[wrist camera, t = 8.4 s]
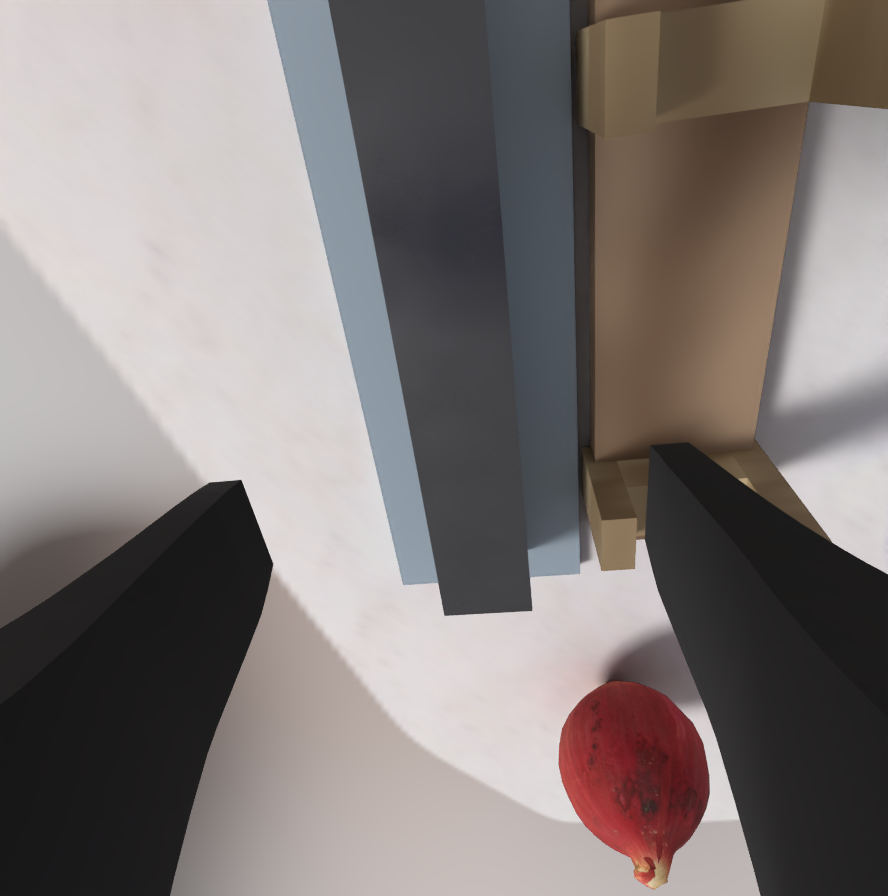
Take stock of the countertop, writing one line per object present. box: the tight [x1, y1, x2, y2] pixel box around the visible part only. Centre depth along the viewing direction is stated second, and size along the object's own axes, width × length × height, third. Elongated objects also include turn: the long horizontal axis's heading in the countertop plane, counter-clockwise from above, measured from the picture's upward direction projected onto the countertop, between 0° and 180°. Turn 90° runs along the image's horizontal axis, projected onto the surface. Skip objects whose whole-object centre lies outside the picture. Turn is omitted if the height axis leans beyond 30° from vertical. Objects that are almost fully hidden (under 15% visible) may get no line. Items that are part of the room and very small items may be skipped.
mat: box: [267, 0, 580, 585], centre depth 18 cm, size 7×21×1 cm, turn 8°
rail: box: [328, 0, 532, 616], centre depth 17 cm, size 3×18×3 cm, turn 8°
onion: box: [559, 681, 710, 889], centre depth 24 cm, size 6×6×8 cm
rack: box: [576, 0, 888, 571], centre depth 16 cm, size 6×17×6 cm, turn 8°
